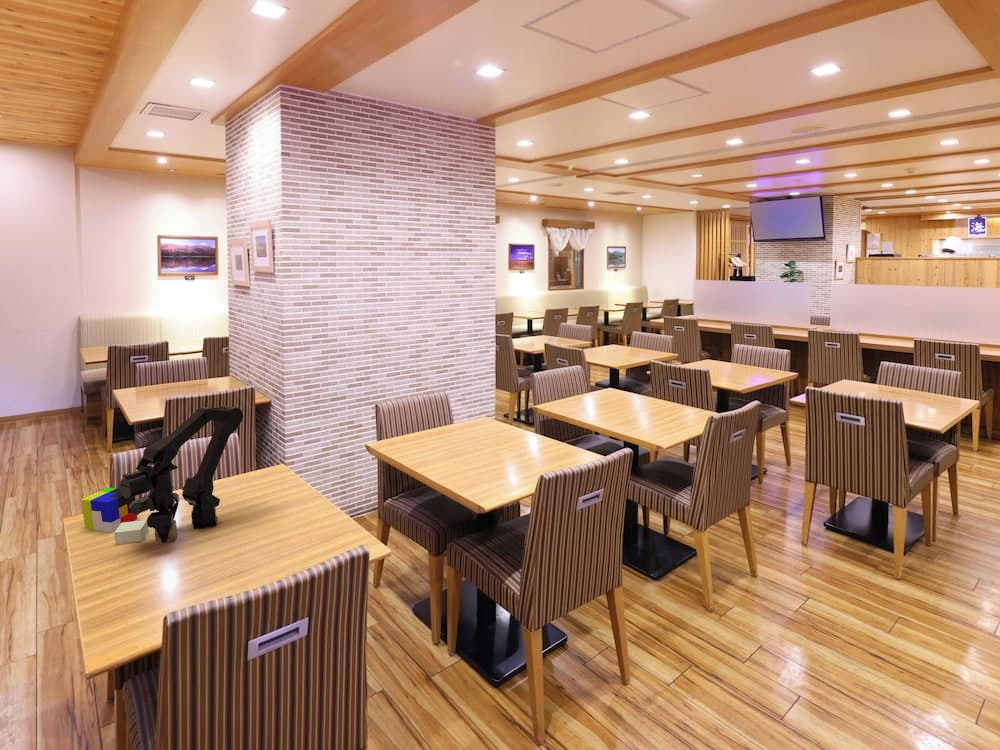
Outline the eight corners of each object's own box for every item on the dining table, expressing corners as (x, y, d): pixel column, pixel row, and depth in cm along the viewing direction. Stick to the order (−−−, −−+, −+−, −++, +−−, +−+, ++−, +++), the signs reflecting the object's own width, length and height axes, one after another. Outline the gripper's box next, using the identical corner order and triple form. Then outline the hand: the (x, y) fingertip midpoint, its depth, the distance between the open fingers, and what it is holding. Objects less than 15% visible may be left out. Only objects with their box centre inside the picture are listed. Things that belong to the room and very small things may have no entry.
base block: (148, 532, 189) (147, 520, 189) (142, 542, 183) (140, 529, 182) (123, 534, 187) (121, 522, 187) (115, 545, 181) (114, 532, 180)
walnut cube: (177, 535, 187) (175, 519, 186) (175, 542, 183) (173, 526, 182) (159, 537, 185) (157, 522, 184) (156, 544, 181) (154, 529, 180)
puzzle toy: (112, 532, 188) (108, 502, 186) (85, 529, 190) (81, 499, 188) (137, 519, 198) (134, 490, 196) (111, 516, 200) (107, 487, 198)
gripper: (136, 479, 186) (141, 526, 189) (123, 502, 169) (129, 554, 172) (177, 474, 190) (181, 521, 193) (168, 497, 173) (173, 547, 176)
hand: (166, 535), depth 184 cm, fingers open, 9 cm apart
